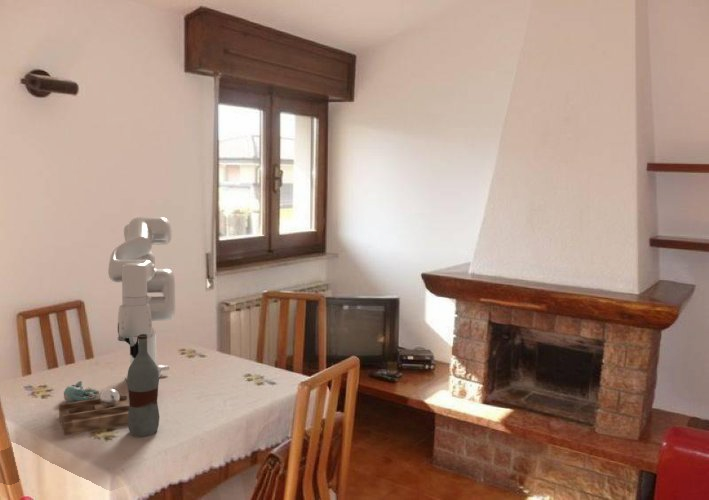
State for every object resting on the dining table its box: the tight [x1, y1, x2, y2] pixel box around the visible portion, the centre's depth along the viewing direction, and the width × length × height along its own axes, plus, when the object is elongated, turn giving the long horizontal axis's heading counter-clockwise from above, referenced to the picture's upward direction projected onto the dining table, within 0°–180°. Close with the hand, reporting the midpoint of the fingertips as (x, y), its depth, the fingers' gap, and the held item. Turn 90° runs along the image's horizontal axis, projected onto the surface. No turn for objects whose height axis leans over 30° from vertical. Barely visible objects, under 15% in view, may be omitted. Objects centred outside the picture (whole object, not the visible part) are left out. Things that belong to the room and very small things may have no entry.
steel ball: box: [99, 387, 121, 408], centre depth 190 cm, size 6×6×6 cm
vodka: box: [126, 334, 160, 438], centre depth 179 cm, size 9×9×30 cm
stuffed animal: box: [63, 380, 100, 403], centre depth 205 cm, size 11×7×12 cm
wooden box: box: [58, 394, 130, 436], centre depth 188 cm, size 20×16×5 cm
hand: (135, 356), depth 193 cm, fingers closed
